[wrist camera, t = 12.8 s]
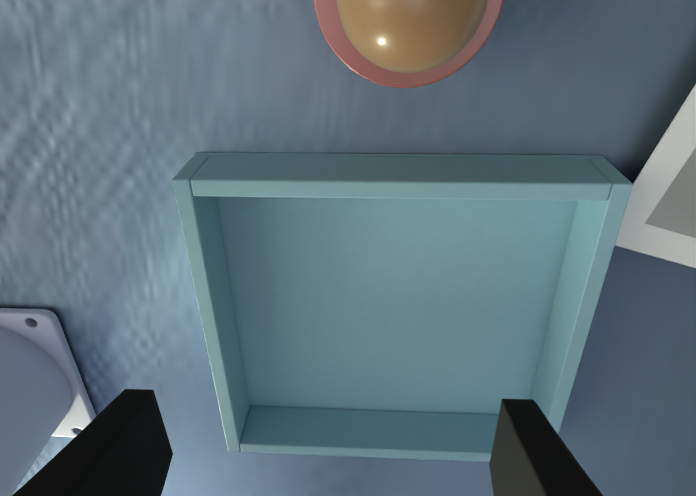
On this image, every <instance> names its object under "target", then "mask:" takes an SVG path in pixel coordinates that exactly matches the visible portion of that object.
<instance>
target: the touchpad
mask: <svg viewBox="0 0 696 496" xmlns="http://www.w3.org/2000/svg"><path fill="white" fill-rule="evenodd" d="M615 245H616V246H620V247H623V248H627V249H630V250H634V251H637V252H641V253H644V254H648V255H651V256H655V257H658V258H662V259H665V260H669V261H672V262H676V263H679V264H683V265H686V266H690V267H693V268H696V84H695V86H694V87H693V89H692V91H691V92H690V94H689V95H688V97H687V99H686V100H685V102H684V103H683V105H682V106H681V108H680V110H679V111H678V113H677V114H676V116H675V118H674V119H673V121H672V122H671V124H670V126H669V127H668V129H667V130H666V132H665V134H664V135H663V137H662V138H661V140H660V142H659V143H658V145H657V146H656V148H655V150H654V151H653V153H652V154H651V156H650V158H649V159H648V161H647V162H646V164H645V165H644V167H643V169H642V170H641V172H640V173H639V175H638V177H637V178H636V180H635V181H634V183H633V186H632V189H631V193H630V196H629V200H628V203H627V206H626V210H625V213H624V216H623V220H622V223H621V226H620V230H619V233H618V236H617V240H616V243H615Z"/></svg>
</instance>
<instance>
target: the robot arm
mask: <svg viewBox="0 0 696 496" xmlns="http://www.w3.org/2000/svg"><path fill="white" fill-rule="evenodd" d="M33 319H34V320H35V321H34V320H33ZM51 436H59V437H75V438H74V439H73V440H72V441H71V442H70V443H69V444H68V445H67V446H65V447H64V448H63V449H62V450H61V451H60V452H59V453H58V454H57V455H56V456H55V457H54V458H53V459H52V460H51V461H49V462H48V463H47V464H46V465H45V466H44V467H43V468H42V469H41V470H40V471H39V472H38V473H37V474H36V475H35V476H33V477H32V478H31V479H30V480H29V481H28V482H27V483H26V484H25V485H24V486H23V487H21V488H20V489H19V490H18V491H17V492H16V493H15V494H13V492H14V491H15V489H16V488H17V486H18V485H19V483H20V482H21V480H22V479H23V478H24V476H25V475H26V473H27V472H28V470H29V469H30V467H31V466H32V464H33V463H34V461H35V460H36V458H37V457H38V455H39V454H40V452H41V451H42V450H43V448H44V447H45V445H46V444H47V442H48V441H49V439H50V438H51ZM172 455H173V453H172V449H171V446H170V443H169V440H168V436H167V433H166V430H165V426H164V423H163V420H162V417H161V413H160V410H159V407H158V404H157V400H156V397H155V394H154V390H139V389H125V390H124V391H123V392H122V393H121V394H120V395H119V396H117V397H116V398H115V399H114V400H113V401H112V402H111V403H110V404H109V405H108V406H107V407H106V408H105V409H104V410H103V411H102V412H101V413H100V414H99V415H98V416H97V417H96V414H95V412H94V409H93V407H92V404H91V401H90V399H89V396H88V394H87V391H86V389H85V386H84V384H83V381H82V378H81V376H80V373H79V371H78V368H77V366H76V363H75V361H74V358H73V355H72V353H71V350H70V348H69V345H68V343H67V340H66V338H65V335H64V332H63V330H62V327H61V325H60V322H59V320H58V318H57V316H56V315H55V314H54V313H53V312H52V311H49V310H46V309H18V308H0V496H11V495H12V494H13V495H12V496H161V494H162V490H163V487H164V484H165V480H166V477H167V473H168V470H169V466H170V462H171V459H172ZM489 465H490V472H491V479H492V486H493V493H494V496H603V495H602V494H601V492H600V491H599V490H598V488H597V487H596V486H595V485H594V483H593V482H592V481H591V479H590V478H589V477H588V475H587V474H586V473H585V471H584V470H583V469H582V467H581V466H580V465H579V463H578V462H577V461H576V459H575V458H574V456H573V455H572V454H571V452H570V451H569V449H568V448H567V447H566V445H565V444H564V442H563V441H562V440H561V438H560V437H559V435H558V434H557V432H556V431H555V429H554V428H553V427H552V425H551V424H550V422H549V421H548V419H547V418H546V416H545V415H544V413H543V412H542V410H541V409H540V407H539V406H538V404H537V403H536V402H535V401H534V400H533V399H502V400H501V406H500V411H499V416H498V421H497V427H496V432H495V437H494V443H493V448H492V453H491V458H490V464H489Z"/></svg>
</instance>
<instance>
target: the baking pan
mask: <svg viewBox="0 0 696 496" xmlns="http://www.w3.org/2000/svg"><path fill="white" fill-rule="evenodd" d="M172 183H173V188H174V193H175V198H176V202H177V207H178V212H179V217H180V222H181V226H182V231H183V236H184V241H185V246H186V251H187V255H188V260H189V265H190V270H191V275H192V279H193V284H194V289H195V294H196V299H197V304H198V308H199V313H200V318H201V323H202V328H203V333H204V337H205V342H206V347H207V352H208V357H209V361H210V366H211V371H212V376H213V381H214V386H215V390H216V395H217V400H218V405H219V410H220V415H221V419H222V424H223V429H224V434H225V439H226V443H227V448H228V451H229V452H240V451H241V452H253V453H278V454H302V455H327V456H352V457H377V458H401V459H426V460H451V461H476V462H490V458H491V453H492V448H493V443H494V437H495V432H496V427H497V421H498V416H499V411H500V406H501V400H502V399H533V400H534V401H535V402H536V403H537V404H538V406H539V407H540V409H541V410H542V412H543V413H544V415H545V416H546V418H547V419H548V421H549V422H550V424H551V425H552V427H553V428H554V429H555V431H556V432H557V434H559V431H560V427H561V424H562V420H563V417H564V414H565V410H566V407H567V404H568V400H569V397H570V394H571V390H572V387H573V384H574V380H575V377H576V374H577V370H578V367H579V364H580V360H581V357H582V354H583V350H584V347H585V343H586V340H587V337H588V333H589V330H590V327H591V323H592V320H593V317H594V313H595V310H596V307H597V303H598V300H599V297H600V293H601V290H602V287H603V283H604V280H605V277H606V273H607V270H608V266H609V263H610V260H611V256H612V253H613V250H614V246H615V243H616V240H617V236H618V233H619V230H620V226H621V223H622V220H623V216H624V213H625V210H626V206H627V203H628V200H629V196H630V193H631V189H632V186H633V184H632V183H631V182H630V181H629V180H628V179H627V178H626V177H625V176H624V175H623V174H621V173H620V172H619V171H618V170H617V169H616V168H615V167H614V166H613V165H612V164H611V163H610V162H609V161H607V160H606V159H605V157H603V156H602V155H499V154H350V153H201V152H197V153H195V154H194V156H193V157H192V158H191V159H190V160H189V162H188V163H187V164H186V165H185V166H184V167H183V168H182V169H181V170H180V171H179V173H178V174H177V175H176V176H175V177H174V178H173V179H172Z"/></svg>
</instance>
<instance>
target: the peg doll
mask: <svg viewBox="0 0 696 496" xmlns="http://www.w3.org/2000/svg"><path fill="white" fill-rule="evenodd" d="M313 1H314V7H315V12H316V16H317V19H318V22H319V25H320V28H321V31H322V33H323V35H324V37H325V39H326V41H327V42H328V44H329V45H330V47H331V49H332V50H333V52H334V53H335V54H336V55H337V56H338V58H339V59H340V60H341V61H342V62H343V63H344V64H345V65H346V66H348V67H349V68H350V69H351V70H352V71H354V72H355V73H357V74H358V75H360V76H361V77H363V78H365V79H367V80H369V81H372V82H374V83H377V84H380V85H384V86H389V87H397V88H411V87H419V86H424V85H428V84H431V83H434V82H437V81H440V80H442V79H444V78H446V77H448V76H450V75H451V74H453V73H454V72H456V71H457V70H459V69H460V68H462V67H463V66H464V65H465V64H466V63H468V62H469V61H470V60H471V59H472V58H473V57H474V56H475V55H476V54H477V53H478V51H479V50H480V49H481V47H482V46H483V45H484V43H485V42H486V41H487V39H488V37H489V36H490V34H491V32H492V31H493V29H494V27H495V24H496V22H497V20H498V18H499V15H500V12H501V9H502V5H503V2H504V0H313Z"/></svg>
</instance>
